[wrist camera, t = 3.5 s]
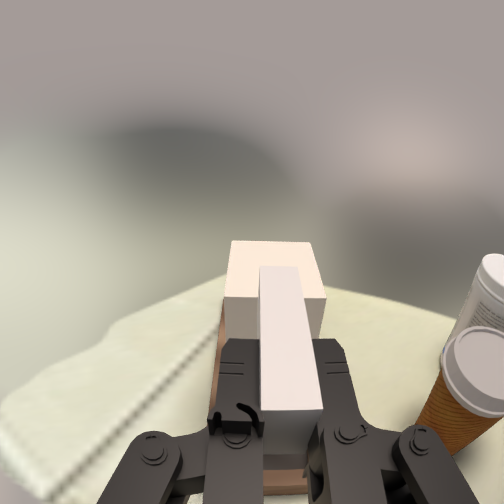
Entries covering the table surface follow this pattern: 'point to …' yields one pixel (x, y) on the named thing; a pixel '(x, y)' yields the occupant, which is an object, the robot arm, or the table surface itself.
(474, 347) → the disposable coffee cup
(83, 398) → the table surface
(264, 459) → the trap track
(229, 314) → the block
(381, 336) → the table surface
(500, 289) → the supplement tub
